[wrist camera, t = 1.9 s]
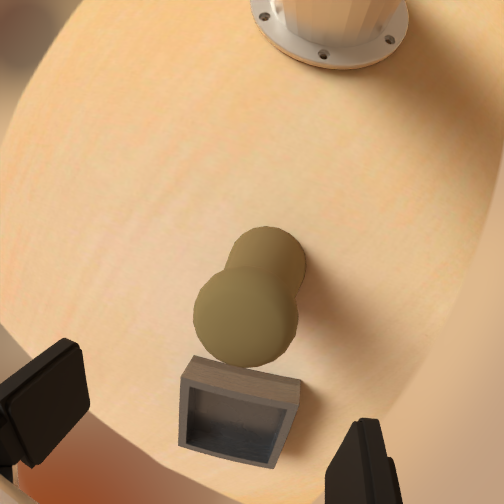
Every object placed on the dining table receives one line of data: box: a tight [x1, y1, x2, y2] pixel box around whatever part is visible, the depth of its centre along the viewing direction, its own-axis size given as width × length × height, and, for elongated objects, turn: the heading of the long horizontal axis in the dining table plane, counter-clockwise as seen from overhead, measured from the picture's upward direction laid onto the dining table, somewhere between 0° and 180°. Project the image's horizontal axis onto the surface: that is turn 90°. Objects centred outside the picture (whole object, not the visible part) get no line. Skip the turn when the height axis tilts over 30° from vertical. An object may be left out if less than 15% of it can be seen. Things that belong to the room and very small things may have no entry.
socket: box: [178, 356, 301, 469], centre depth 26 cm, size 10×10×4 cm
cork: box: [193, 226, 306, 368], centre depth 19 cm, size 6×6×11 cm
